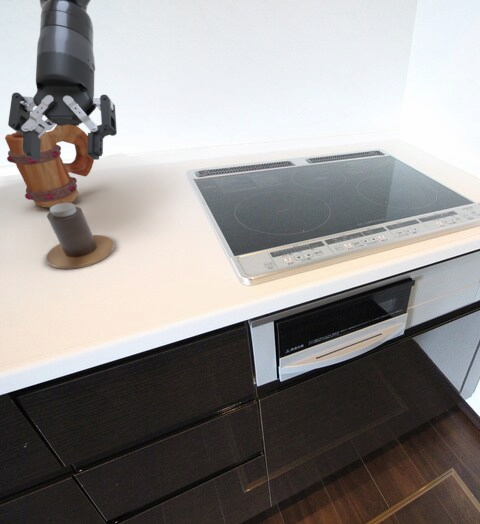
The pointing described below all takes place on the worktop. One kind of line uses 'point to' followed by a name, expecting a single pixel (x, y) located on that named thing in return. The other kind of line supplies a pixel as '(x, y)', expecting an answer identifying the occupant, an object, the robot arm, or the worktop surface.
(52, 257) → the coaster
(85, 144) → the mug
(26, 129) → the robot arm
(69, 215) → the pepper mill
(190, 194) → the worktop surface
